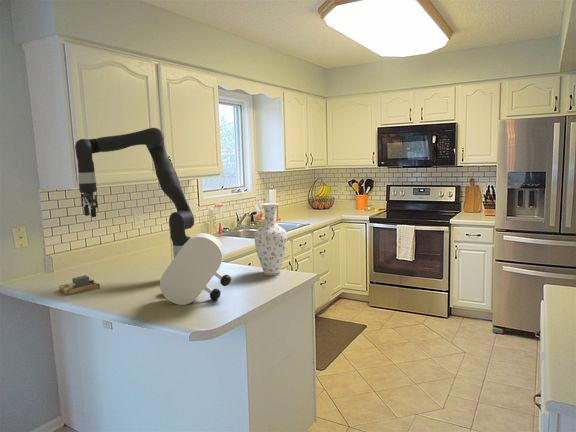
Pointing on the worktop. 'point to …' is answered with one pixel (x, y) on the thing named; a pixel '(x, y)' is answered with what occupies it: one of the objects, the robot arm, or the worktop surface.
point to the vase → (270, 242)
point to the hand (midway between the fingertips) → (90, 216)
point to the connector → (80, 281)
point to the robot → (194, 270)
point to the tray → (70, 290)
